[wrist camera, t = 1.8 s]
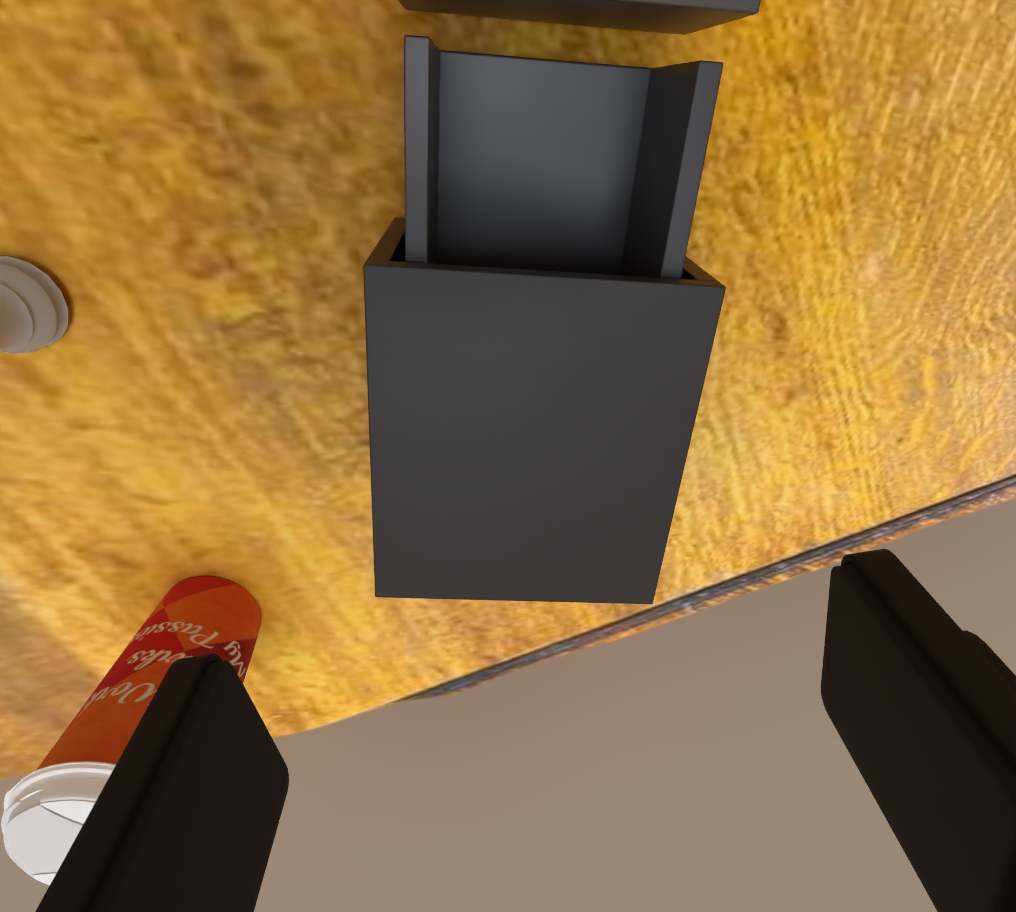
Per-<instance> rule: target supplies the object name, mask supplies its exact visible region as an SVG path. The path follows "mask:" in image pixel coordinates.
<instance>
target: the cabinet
mask: <svg viewBox="0 0 1016 912" xmlns="http://www.w3.org/2000/svg"><path fill="white" fill-rule="evenodd" d="M363 270H364V297H365V325H366V353H367V381H368V409H369V436H370V464H371V492H372V520H373V547H374V575H375V596H376V597H391V598H430V599H469V600H508V601H548V602H587V603H626V604H653V600H654V595H655V591H656V587H657V582H658V578H659V574H660V569H661V565H662V561H663V557H664V552H665V548H666V544H667V539H668V535H669V531H670V526H671V522H672V518H673V513H674V509H675V505H676V500H677V496H678V492H679V488H680V483H681V479H682V475H683V470H684V466H685V462H686V457H687V453H688V449H689V444H690V440H691V436H692V431H693V427H694V423H695V419H696V414H697V410H698V406H699V401H700V397H701V393H702V388H703V384H704V380H705V375H706V371H707V367H708V363H709V358H710V354H711V350H712V345H713V341H714V337H715V332H716V328H717V324H718V319H719V315H720V311H721V306H722V302H723V298H724V294H725V289H726V287H725V286H724V285H723V284H721V283H720V282H718V281H717V280H716V279H715V278H713V277H712V276H711V275H709V274H708V273H707V272H705V271H704V270H703V269H702V268H700V267H699V266H698V265H696V264H695V263H694V262H692V261H691V260H690V259H689V258H687V257H686V256H685V261H684V266H683V271H682V276H681V279H671V278H655V277H639V276H623V275H606V274H590V273H574V272H558V271H542V270H526V269H510V268H493V267H477V266H461V265H445V264H429V263H413V262H405V219H403V218H395V219H394V220H393V222H392V223H391V225H390V226H389V228H388V229H387V231H386V232H385V234H384V235H383V237H382V238H381V240H380V241H379V243H378V244H377V246H376V247H375V249H374V250H373V252H372V253H371V255H370V256H369V258H368V259H367V261H366V262H365V264H364V266H363Z"/></svg>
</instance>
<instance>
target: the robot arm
mask: <svg viewBox="0 0 1016 912" xmlns="http://www.w3.org/2000/svg"><path fill="white" fill-rule="evenodd" d="M821 695H822V700H823V703H824V706H825V709H826V711H827V713H828V715H829V717H830V719H831V721H832V722H833V724H834V726H835V728H836V730H837V731H838V733H839V735H840V737H841V739H842V740H843V742H844V744H845V746H846V748H847V749H848V751H849V753H850V755H851V756H852V758H853V760H854V762H855V764H856V765H857V767H858V769H859V771H860V773H861V774H862V776H863V778H864V780H865V782H866V783H867V785H868V787H869V789H870V791H871V792H872V794H873V796H874V798H875V800H876V801H877V803H878V805H879V807H880V809H881V811H882V812H883V814H884V816H885V818H886V819H887V821H888V823H889V825H890V827H891V829H892V830H893V832H894V834H895V836H896V838H897V839H898V841H899V843H900V845H901V847H902V848H903V850H904V852H905V854H906V855H907V857H908V859H909V861H910V862H911V865H912V866H913V868H914V870H915V872H916V873H917V875H918V877H919V879H920V880H921V882H922V884H923V886H924V888H925V890H926V891H927V893H928V895H929V897H930V899H931V900H932V902H933V904H934V906H935V908H936V909H937V911H938V912H1016V676H1015V675H1014V674H1013V672H1012V671H1011V670H1010V669H1009V668H1008V667H1007V666H1006V665H1005V664H1004V663H1003V661H1002V660H1001V659H1000V658H999V657H998V656H997V655H996V654H995V653H994V652H993V650H992V649H991V648H990V647H989V646H988V645H987V644H986V643H985V642H984V641H983V640H981V639H980V638H979V637H978V636H977V635H975V634H973V633H971V632H969V631H962V630H961V629H960V628H959V627H958V625H957V624H956V623H955V622H954V621H953V620H952V619H951V618H950V616H949V615H948V614H947V613H946V612H945V611H944V610H943V609H942V607H941V606H940V605H939V604H938V603H937V602H936V601H935V600H934V598H933V597H932V596H931V595H930V594H929V593H928V592H927V591H926V589H925V588H924V587H923V586H922V585H921V584H920V583H919V582H918V581H917V580H916V578H915V577H914V576H913V575H912V574H911V573H910V572H909V570H908V569H907V568H906V567H905V566H904V565H903V564H902V563H901V562H900V560H899V559H898V558H897V557H896V556H895V555H894V554H893V553H892V552H891V551H889V550H887V549H881V550H874V551H867V552H861V553H855V554H848V555H845V556H844V557H843V559H842V562H841V566H836V567H833V569H832V571H831V578H830V589H829V601H828V612H827V623H826V635H825V647H824V657H823V669H822V680H821ZM288 784H289V774H288V768H287V766H286V764H285V762H284V760H283V758H282V756H281V754H280V752H279V751H278V749H277V747H276V745H275V743H274V742H273V739H272V737H271V736H270V734H269V732H268V730H267V728H266V726H265V724H264V722H263V721H262V719H261V717H260V715H259V713H258V711H257V709H256V708H255V706H254V704H253V702H252V700H251V698H250V696H249V694H248V693H247V691H246V689H245V687H244V685H243V683H242V681H241V680H240V678H239V676H238V674H237V672H236V670H235V668H234V666H233V665H232V664H231V663H230V662H229V661H223V660H222V659H221V658H220V656H218V655H217V654H206V655H200V656H193V657H187V658H180V659H177V660H176V661H174V662H173V663H172V665H171V666H170V667H169V669H168V671H167V673H166V674H165V676H164V678H163V680H162V682H161V684H160V685H159V687H158V689H157V691H156V693H155V694H154V696H153V698H152V700H151V702H150V704H149V705H148V707H147V709H146V711H145V713H144V715H143V716H142V718H141V720H140V722H139V724H138V726H137V727H136V729H135V731H134V733H133V735H132V736H131V738H130V740H129V742H128V744H127V746H126V747H125V749H124V751H123V753H122V755H121V757H120V758H119V760H118V762H117V764H116V766H115V767H114V769H113V771H112V773H111V775H110V777H109V778H108V780H107V782H106V784H105V786H104V788H103V789H102V791H101V793H100V795H99V797H98V799H97V800H96V802H95V804H94V806H93V808H92V809H91V811H90V813H89V815H88V817H87V819H86V820H85V822H84V824H83V826H82V828H81V830H80V831H79V833H78V835H77V837H76V839H75V840H74V842H73V844H72V846H71V848H70V850H69V851H68V853H67V855H66V857H65V859H64V861H63V862H62V864H61V866H60V868H59V870H58V872H57V873H56V875H55V877H54V879H53V881H52V882H51V884H50V886H49V888H48V890H47V892H46V893H45V895H44V897H43V899H42V901H41V903H40V904H39V906H38V908H37V910H36V912H254V909H255V905H256V901H257V898H258V894H259V891H260V887H261V883H262V880H263V876H264V873H265V869H266V866H267V862H268V859H269V855H270V852H271V848H272V845H273V841H274V837H275V834H276V830H277V826H278V823H279V819H280V816H281V813H282V809H283V805H284V802H285V798H286V795H287V791H288Z"/></svg>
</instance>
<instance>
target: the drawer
mask: <svg viewBox="0 0 1016 912" xmlns="http://www.w3.org/2000/svg"><path fill="white" fill-rule="evenodd" d="M398 1H399V2H400V3H401V5H402V6H403V7H404V8H405V9H406V10H415V11H426V12H437V13H449V14H460V15H471V16H482V17H493V18H505V19H516V20H527V21H538V22H549V23H561V24H572V25H583V26H594V27H605V28H617V29H628V30H639V31H650V32H661V33H673V34H684V35H685V34H689V33H692V32H695V31H699V30H702V29H706V28H709V27H713V26H716V25H719V24H723V23H726V22H730V21H733V20H737V19H740V18H743V17H747V16H750V15H754V14H757V13H758V11H759V6H760V2H761V0H398ZM722 68H723V63H722V62H712V61H695V62H688V63H682V64H675V65H669V66H663V67H656V68H645V67H633V66H621V65H609V64H598V63H586V62H574V61H562V60H551V59H539V58H527V57H515V56H504V55H492V54H480V53H468V52H457V51H445V50H439V49H438V47H437V46H436V45H435V44H434V42H433V41H432V40H431V39H430V38H429V37H423V36H411V35H405V36H404V131H405V262H413V263H429V264H445V265H461V266H477V267H493V268H510V269H526V270H542V271H558V272H574V273H590V274H606V275H623V276H639V277H655V278H671V279H681V276H682V271H683V266H684V261H685V256H686V251H687V246H688V241H689V236H690V230H691V225H692V220H693V215H694V210H695V205H696V200H697V195H698V190H699V185H700V180H701V175H702V170H703V165H704V160H705V154H706V149H707V144H708V139H709V134H710V129H711V124H712V119H713V114H714V109H715V104H716V99H717V94H718V89H719V84H720V78H721V73H722Z"/></svg>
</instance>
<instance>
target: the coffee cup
mask: <svg viewBox="0 0 1016 912" xmlns="http://www.w3.org/2000/svg"><path fill="white" fill-rule="evenodd" d="M260 624H261V611H260V608H259V605H258V603H257V602H256V600H255V599H254V597H253V596H252V595H251V594H250V593H249V592H248V591H247V590H245V589H244V588H242V587H241V586H239V585H238V584H236V583H234V582H231V581H229V580H226V579H223V578H218V577H212V576H198V577H192V578H189V579H186V580H183V581H181V582H179V583H178V584H176V585H175V586H174V587H173V588H172V589H171V590H170V591H169V592H168V593H167V594H166V596H165V597H164V598H163V599H162V601H161V602H160V603H159V604H158V606H157V607H156V608H155V610H154V611H153V612H152V614H151V615H150V616H149V618H148V619H147V620H146V622H145V623H144V624H143V626H142V627H141V628H140V630H139V631H138V632H137V634H136V635H135V636H134V638H133V639H132V640H131V642H130V643H129V644H128V646H127V647H126V649H125V650H124V651H123V653H122V654H121V655H120V657H119V658H118V659H117V661H116V662H115V663H114V665H113V666H112V668H111V669H110V670H109V672H108V673H107V674H106V676H105V677H104V678H103V680H102V681H101V683H100V684H99V685H98V687H97V688H96V689H95V691H94V692H93V693H92V695H91V696H90V698H89V699H88V700H87V702H86V703H85V704H84V706H83V707H82V709H81V710H80V711H79V713H78V714H77V715H76V717H75V718H74V719H73V721H72V722H71V724H70V725H69V726H68V728H67V729H66V730H65V732H64V733H63V734H62V736H61V737H60V739H59V740H58V741H57V743H56V744H55V745H54V747H53V748H52V749H51V751H50V752H49V754H48V755H47V756H46V758H45V759H44V760H43V762H42V763H41V764H40V766H39V767H38V769H37V770H36V771H34V772H31V773H30V774H28V775H27V776H25V777H24V778H22V779H21V780H20V781H19V782H18V783H17V784H16V785H15V786H14V787H13V788H12V789H10V790H9V791H8V792H7V793H6V796H5V800H4V814H3V816H2V822H1V827H2V832H3V834H4V845H5V848H6V851H7V853H8V854H9V856H10V858H11V859H12V860H13V861H14V862H15V863H16V864H17V865H18V866H19V867H20V868H21V869H23V870H24V871H25V872H26V873H27V874H28V875H30V876H31V877H33V878H34V879H36V880H38V881H41V882H43V883H45V884H47V885H50V884H51V882H52V881H53V879H54V877H55V875H56V873H57V872H58V870H59V868H60V866H61V864H62V862H63V861H64V859H65V857H66V855H67V853H68V851H69V850H70V848H71V846H72V844H73V842H74V840H75V839H76V837H77V835H78V833H79V831H80V830H81V828H82V826H83V824H84V822H85V820H86V819H87V817H88V815H89V813H90V811H91V809H92V808H93V806H94V804H95V802H96V800H97V799H98V797H99V795H100V793H101V791H102V789H103V788H104V786H105V784H106V782H107V780H108V778H109V777H110V775H111V773H112V771H113V769H114V767H115V766H116V764H117V762H118V760H119V758H120V757H121V755H122V753H123V751H124V749H125V747H126V746H127V744H128V742H129V740H130V738H131V736H132V735H133V733H134V731H135V729H136V727H137V726H138V724H139V722H140V720H141V718H142V716H143V715H144V713H145V711H146V709H147V707H148V705H149V704H150V702H151V700H152V698H153V696H154V694H155V693H156V691H157V689H158V687H159V685H160V684H161V682H162V680H163V678H164V676H165V674H166V673H167V671H168V669H169V667H170V666H171V665H172V663H173V662H174V661H176V660H177V659H180V658H187V657H193V656H200V655H206V654H217V655H218V656H220V658H221V659H222V660H223V661H229V662H230V663H231V664H232V665H233V666H234V668H235V670H236V672H237V674H238V676H239V678H240V680H241V681H242V683H243V682H244V679H245V675H246V672H247V669H248V666H249V663H250V659H251V656H252V653H253V650H254V646H255V643H256V640H257V636H258V633H259V629H260Z"/></svg>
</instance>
